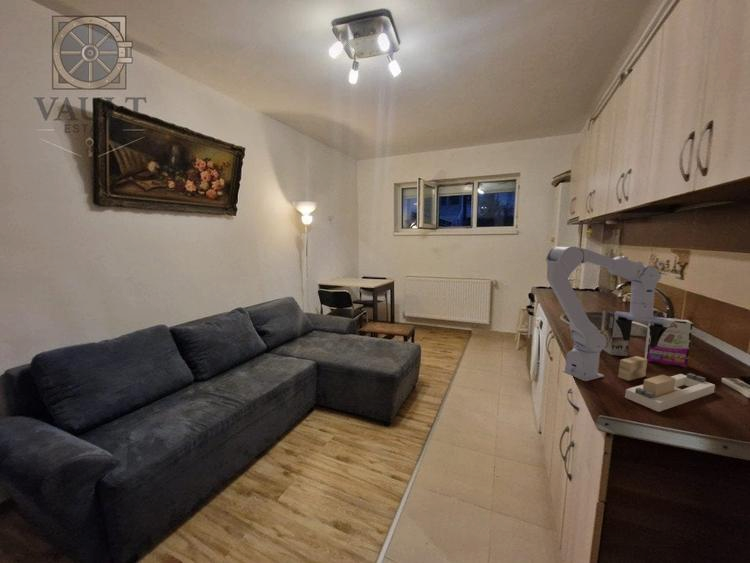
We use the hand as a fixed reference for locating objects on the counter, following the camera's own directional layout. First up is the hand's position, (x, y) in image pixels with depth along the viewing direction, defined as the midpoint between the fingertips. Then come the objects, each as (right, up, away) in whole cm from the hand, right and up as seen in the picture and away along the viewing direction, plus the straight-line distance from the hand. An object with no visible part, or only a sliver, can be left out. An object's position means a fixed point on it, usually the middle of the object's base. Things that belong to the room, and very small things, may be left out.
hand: (639, 343), depth 102 cm
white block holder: (0, -13, -11) cm, 17 cm away
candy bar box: (+20, -10, +13) cm, 26 cm away
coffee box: (+9, -8, +24) cm, 27 cm away
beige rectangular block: (-2, -11, +1) cm, 11 cm away
